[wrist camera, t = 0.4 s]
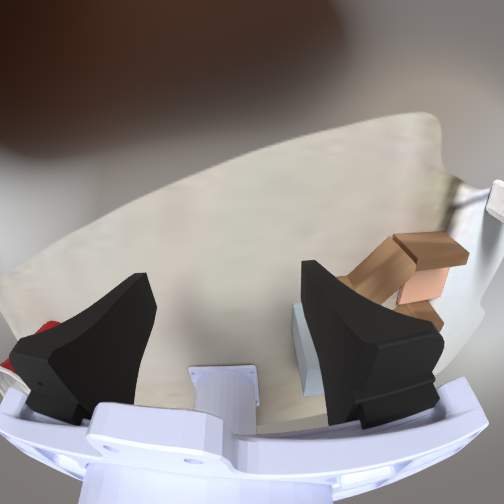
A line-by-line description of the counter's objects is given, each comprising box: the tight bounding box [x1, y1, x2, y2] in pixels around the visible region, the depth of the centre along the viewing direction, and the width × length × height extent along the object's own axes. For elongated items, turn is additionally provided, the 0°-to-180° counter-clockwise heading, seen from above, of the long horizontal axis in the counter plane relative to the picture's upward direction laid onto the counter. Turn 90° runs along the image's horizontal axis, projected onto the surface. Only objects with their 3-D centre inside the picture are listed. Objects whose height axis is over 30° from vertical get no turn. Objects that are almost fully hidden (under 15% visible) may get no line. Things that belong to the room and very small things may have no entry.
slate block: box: [292, 303, 324, 397], centre depth 23 cm, size 4×4×8 cm
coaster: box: [397, 267, 450, 305], centre depth 24 cm, size 7×6×1 cm
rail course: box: [336, 231, 469, 332], centre depth 24 cm, size 13×12×4 cm
